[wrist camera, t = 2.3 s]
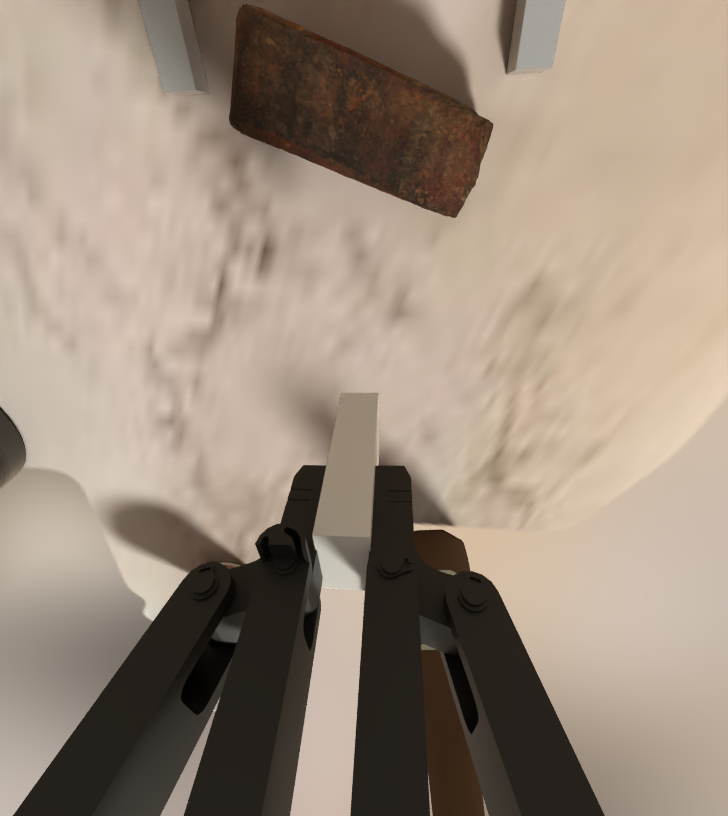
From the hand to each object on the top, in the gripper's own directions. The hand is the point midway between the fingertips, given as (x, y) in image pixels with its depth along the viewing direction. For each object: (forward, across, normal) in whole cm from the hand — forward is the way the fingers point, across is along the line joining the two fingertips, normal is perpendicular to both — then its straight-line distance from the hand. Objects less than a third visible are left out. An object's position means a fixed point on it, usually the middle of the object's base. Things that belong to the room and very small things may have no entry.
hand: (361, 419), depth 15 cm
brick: (+11, 0, +10) cm, 15 cm away
